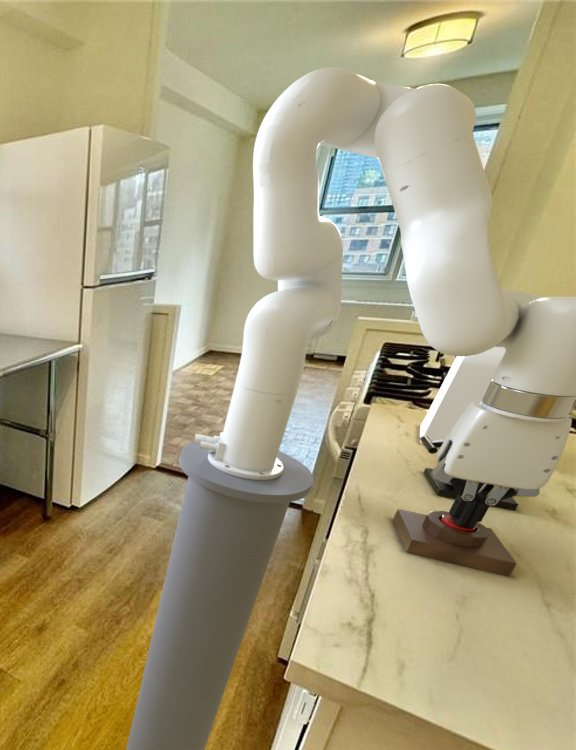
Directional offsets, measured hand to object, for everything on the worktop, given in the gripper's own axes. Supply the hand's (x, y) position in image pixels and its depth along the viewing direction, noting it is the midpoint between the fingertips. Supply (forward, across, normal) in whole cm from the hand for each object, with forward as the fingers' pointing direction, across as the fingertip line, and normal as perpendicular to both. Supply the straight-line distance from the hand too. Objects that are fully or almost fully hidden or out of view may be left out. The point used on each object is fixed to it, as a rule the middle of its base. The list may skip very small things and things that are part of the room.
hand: (461, 522), depth 68 cm
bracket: (+4, -8, -22) cm, 24 cm away
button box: (+4, 0, 0) cm, 4 cm away
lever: (-3, -5, -22) cm, 23 cm away
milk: (+4, -13, -47) cm, 49 cm away
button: (+2, 0, 0) cm, 2 cm away
